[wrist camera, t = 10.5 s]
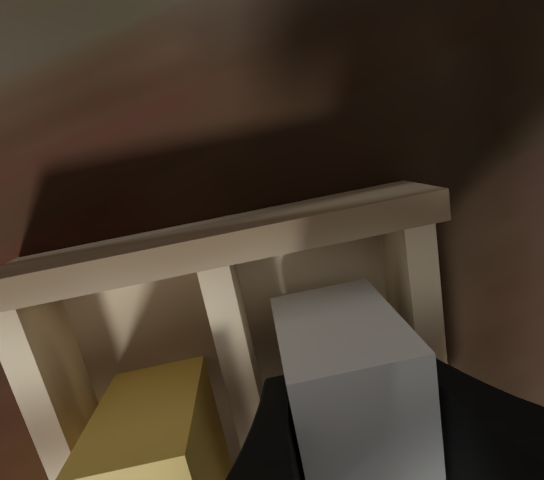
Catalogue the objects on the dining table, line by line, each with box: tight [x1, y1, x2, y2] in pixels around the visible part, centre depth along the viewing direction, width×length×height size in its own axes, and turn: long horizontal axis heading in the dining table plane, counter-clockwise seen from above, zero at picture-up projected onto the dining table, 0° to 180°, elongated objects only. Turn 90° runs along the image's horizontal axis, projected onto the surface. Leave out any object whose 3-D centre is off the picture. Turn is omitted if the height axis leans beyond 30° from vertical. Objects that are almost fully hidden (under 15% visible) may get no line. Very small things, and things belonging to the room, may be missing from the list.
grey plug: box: [270, 279, 446, 480], centre depth 12 cm, size 8×4×5 cm, turn 11°
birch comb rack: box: [0, 180, 451, 480], centre depth 14 cm, size 11×15×3 cm
